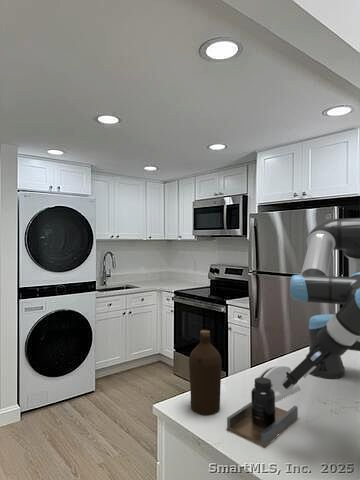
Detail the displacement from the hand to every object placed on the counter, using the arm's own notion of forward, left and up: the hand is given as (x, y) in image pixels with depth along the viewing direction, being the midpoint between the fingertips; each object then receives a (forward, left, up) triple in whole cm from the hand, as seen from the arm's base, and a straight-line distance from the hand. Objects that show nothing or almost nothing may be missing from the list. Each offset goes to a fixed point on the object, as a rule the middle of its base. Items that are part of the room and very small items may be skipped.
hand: (291, 382), depth 95 cm
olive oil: (+19, -20, -14) cm, 30 cm away
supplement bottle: (+6, -5, -13) cm, 15 cm away
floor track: (+6, -6, -14) cm, 16 cm away
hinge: (-10, -22, -14) cm, 28 cm away
